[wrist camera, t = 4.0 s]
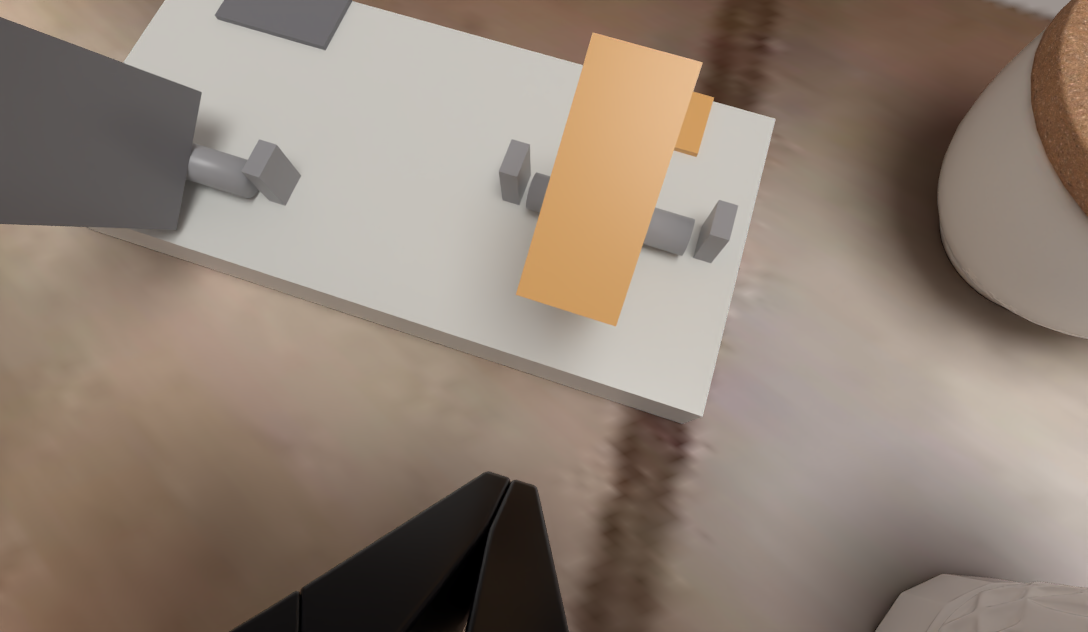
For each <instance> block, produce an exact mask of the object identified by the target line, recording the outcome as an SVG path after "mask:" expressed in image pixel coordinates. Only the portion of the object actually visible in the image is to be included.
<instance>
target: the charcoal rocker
mask: <svg viewBox="0 0 1088 632" xmlns="http://www.w3.org/2000/svg"><path fill="white" fill-rule="evenodd" d="M201 95H202V92H200V91H198V90H195V89H192V88H189V87H187V86H184V85H181V84H179V83H176V82H173V81H171V80H168V79H165V78H163V77H160V76H157V75H155V74H152V73H149V72H146V71H144V70H141V69H138V68H136V67H133V66H130V65H128V64H125V63H122V62H120V61H117V60H114V59H112V58H109V57H106V56H103V55H101V54H98V53H95V52H93V51H90V50H87V49H85V48H82V47H79V46H77V45H74V44H71V43H69V42H66V41H63V40H60V39H58V38H55V37H52V36H50V35H47V34H44V33H42V32H39V31H36V30H34V29H31V28H28V27H26V26H23V25H20V24H17V23H15V22H12V21H9V20H7V19H4V18H1V17H0V224H19V225H47V226H76V227H104V228H133V229H162V230H176V229H177V223H178V218H179V213H180V207H181V202H182V197H183V191H184V186H185V181H186V179H187V180H190V181H193V182H197V183H200V184H203V185H206V186H209V187H212V188H216V189H219V190H222V191H225V192H228V193H231V194H235V195H238V196H241V197H244V198H251V197H253V196H254V195H255V194H256V193H257V192H258V189H257V188H256V187H255V186H254V184H253V183H252V182H251V181H250V180H249V179H248V178H247V177H246V176H245V175H244V174H243V173H242V172H241V171H242V169H243V167H244V166H245V164H246V162H247V159H244V158H240V157H237V156H234V155H231V154H228V153H224V152H221V151H218V150H215V149H211V148H208V147H205V146H202V145H198V144H195V143H193V138H194V132H195V127H196V121H197V116H198V111H199V105H200V100H201Z"/></svg>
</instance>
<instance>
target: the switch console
mask: <svg viewBox="0 0 1088 632" xmlns="http://www.w3.org/2000/svg"><path fill="white" fill-rule="evenodd" d="M123 63H125V64H128V65H130V66H133V67H136V68H138V69H141V70H144V71H146V72H149V73H152V74H155V75H157V76H160V77H163V78H165V79H168V80H171V81H173V82H176V83H179V84H181V85H184V86H187V87H189V88H192V89H195V90H198V91H200V92H202V95H201V100H200V105H199V111H198V116H197V121H196V127H195V132H194V138H193V143H195V144H198V145H202V146H205V147H208V148H211V149H215V150H218V151H221V152H224V153H228V154H231V155H234V156H237V157H240V158H244V159H247V162H246V164H245V166H244V167H243V169H242V171H241V172H242V173H243V174H244V175H245V176H246V177H247V178H248V179H249V180H250V181H251V182H252V183H253V184H254V186H255V187H256V188H257V189H258V192H257V193H256V194H255V195H254V196H253V197H251V198H244V197H241V196H238V195H235V194H231V193H228V192H225V191H222V190H219V189H216V188H212V187H209V186H206V185H203V184H200V183H197V182H193V181H190V180H187V179H186V181H185V186H184V191H183V197H182V202H181V207H180V213H179V218H178V223H177V229H176V230H162V229H133V228H104V227H87V228H89V229H91V230H94V231H97V232H100V233H104V234H107V235H110V236H113V237H116V238H119V239H122V240H125V241H128V242H131V243H134V244H137V245H140V246H143V247H146V248H149V249H152V250H155V251H158V252H161V253H164V254H167V255H170V256H173V257H176V258H179V259H183V260H186V261H189V262H192V263H195V264H198V265H201V266H204V267H207V268H210V269H213V270H216V271H219V272H222V273H225V274H228V275H231V276H234V277H237V278H240V279H243V280H246V281H249V282H252V283H255V284H258V285H262V286H265V287H268V288H271V289H274V290H277V291H280V292H283V293H286V294H289V295H292V296H295V297H298V298H301V299H304V300H307V301H310V302H313V303H316V304H319V305H322V306H325V307H328V308H331V309H334V310H337V311H341V312H344V313H347V314H350V315H353V316H356V317H359V318H362V319H365V320H368V321H371V322H374V323H377V324H380V325H383V326H386V327H389V328H392V329H395V330H398V331H401V332H404V333H407V334H410V335H413V336H416V337H419V338H423V339H426V340H429V341H432V342H435V343H438V344H441V345H444V346H447V347H450V348H453V349H456V350H459V351H462V352H465V353H468V354H471V355H474V356H477V357H480V358H483V359H486V360H489V361H492V362H495V363H498V364H502V365H505V366H508V367H511V368H514V369H517V370H520V371H523V372H526V373H529V374H532V375H535V376H538V377H541V378H544V379H547V380H550V381H553V382H556V383H559V384H562V385H565V386H568V387H571V388H574V389H577V390H581V391H584V392H587V393H590V394H593V395H596V396H599V397H602V398H605V399H608V400H611V401H614V402H617V403H620V404H623V405H626V406H629V407H632V408H635V409H638V410H641V411H644V412H647V413H650V414H653V415H656V416H660V417H663V418H666V419H669V420H672V421H675V422H678V423H681V424H684V423H687V422H689V421H692V420H695V419H697V418H700V417H703V413H704V409H705V405H706V401H707V397H708V393H709V389H710V384H711V380H712V376H713V372H714V368H715V364H716V360H717V356H718V352H719V348H720V344H721V339H722V335H723V331H724V327H725V323H726V319H727V315H728V311H729V307H730V303H731V299H732V295H733V290H734V286H735V282H736V278H737V274H738V270H739V266H740V262H741V258H742V254H743V250H744V245H745V241H746V237H747V233H748V229H749V225H750V221H751V217H752V213H753V209H754V205H755V201H756V196H757V192H758V188H759V184H760V180H761V176H762V172H763V168H764V164H765V160H766V156H767V151H768V147H769V143H770V139H771V135H772V131H773V127H774V123H775V119H774V118H771V117H767V116H763V115H760V114H756V113H753V112H749V111H745V110H742V109H738V108H735V107H731V106H727V105H724V104H720V103H717V102H713V99H714V97H710V96H706V95H703V94H699V93H696V92H693V93H692V96H691V99H690V102H689V106H688V109H687V112H686V115H685V118H684V121H683V124H682V127H681V130H680V133H679V136H678V139H677V142H676V145H675V148H674V151H673V154H672V157H671V160H670V163H669V167H668V170H667V173H666V176H665V179H664V182H663V185H662V188H661V191H660V194H659V197H658V200H657V203H656V206H655V207H656V208H659V209H662V210H666V211H669V212H673V213H676V214H679V215H683V216H686V217H689V218H693V219H695V223H694V228H693V231H692V235H691V238H690V240H689V243H688V246H687V248H686V250H685V252H684V254H683V255H682V256H681V255H678V254H674V253H671V252H668V251H664V250H661V249H658V248H654V247H651V246H648V245H645V244H643V246H642V249H641V252H640V255H639V258H638V261H637V264H636V267H635V270H634V273H633V276H632V279H631V282H630V285H629V288H628V291H627V295H626V298H625V301H624V304H623V307H622V310H621V313H620V316H619V319H618V322H617V325H616V326H613V325H609V324H606V323H603V322H600V321H597V320H594V319H591V318H587V317H584V316H581V315H578V314H575V313H572V312H568V311H565V310H562V309H559V308H556V307H553V306H550V305H546V304H543V303H540V302H537V301H534V300H531V299H527V298H524V297H521V296H518V295H516V292H517V289H518V285H519V282H520V278H521V275H522V272H523V268H524V265H525V261H526V258H527V255H528V251H529V248H530V244H531V241H532V238H533V234H534V231H535V227H536V224H537V221H538V217H539V214H540V213H539V212H536V211H532V210H529V209H526V200H527V195H528V191H529V188H530V184H531V182H532V179H533V177H534V175H535V173H536V172H538V173H541V174H545V175H548V176H551V173H552V170H553V166H554V163H555V159H556V156H557V153H558V149H559V146H560V142H561V139H562V136H563V132H564V129H565V125H566V122H567V119H568V115H569V112H570V108H571V105H572V102H573V98H574V95H575V91H576V88H577V85H578V81H579V78H580V74H581V71H582V68H583V65H580V64H576V63H573V62H569V61H566V60H562V59H558V58H555V57H551V56H548V55H544V54H540V53H537V52H533V51H530V50H526V49H522V48H519V47H515V46H512V45H508V44H504V43H501V42H497V41H494V40H490V39H486V38H483V37H479V36H476V35H472V34H468V33H465V32H461V31H458V30H454V29H450V28H447V27H443V26H440V25H436V24H432V23H429V22H425V21H422V20H418V19H414V18H411V17H407V16H404V15H400V14H396V13H393V12H389V11H386V10H382V9H378V8H375V7H371V6H368V5H364V4H360V3H357V2H353V1H352V0H165V1H164V3H163V4H162V6H161V7H160V9H159V10H158V12H157V13H156V15H155V16H154V18H153V19H152V21H151V22H150V24H149V25H148V26H147V28H146V29H145V31H144V32H143V34H142V35H141V37H140V38H139V40H138V41H137V43H136V44H135V46H134V47H133V49H132V50H131V52H130V53H129V55H128V56H127V58H126V59H125V61H124V62H123Z"/></svg>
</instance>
